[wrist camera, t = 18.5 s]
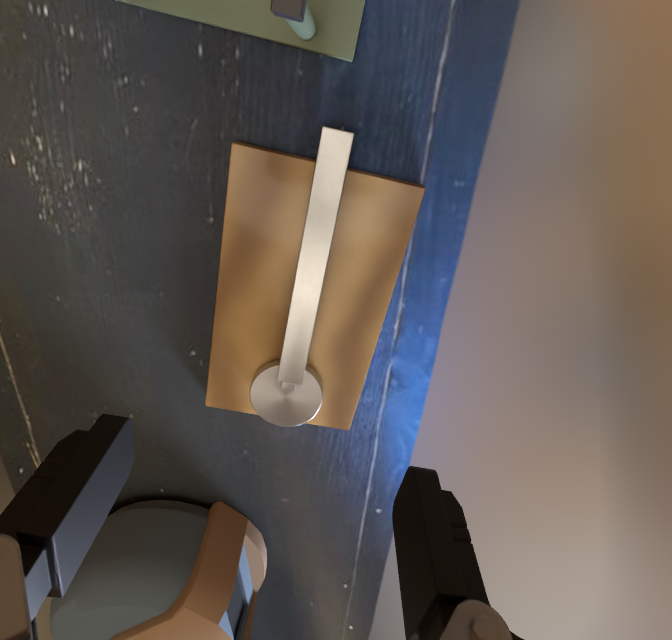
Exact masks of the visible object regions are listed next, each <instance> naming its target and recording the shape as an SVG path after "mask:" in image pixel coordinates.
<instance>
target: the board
mask: <svg viewBox="0 0 672 640" xmlns="http://www.w3.org/2000/svg"><path fill="white" fill-rule="evenodd" d="M315 163H316V160H315V159H311V158H307V157H303V156H298V155H294V154H290V153H286V152H282V151H277V150H273V149H269V148H265V147H260V146H256V145H252V144H248V143H243V142H239V141H235V142H233V143H232V146H231V156H230V166H229V176H228V185H227V195H226V205H225V215H224V225H223V235H222V245H221V255H220V265H219V275H218V285H217V295H216V304H215V314H214V324H213V334H212V344H211V354H210V364H209V374H208V384H207V394H206V404H205V405H206V406H211V407H216V408H222V409H228V410H234V411H239V412H245V413H251V414H257V413H256V411H255V410H254V408H253V407H252V404H251V401H250V388H251V384H252V381H253V378H254V376H255V374H256V372H257V371H258V370H259V369H260V368H261V367H262V366H263V365H265V364H266V363H268V362H270V361H272V360H275V359H280V357H281V351H282V346H283V340H284V335H285V329H286V324H287V318H288V313H289V307H290V302H291V296H292V291H293V285H294V279H295V274H296V268H297V263H298V257H299V252H300V246H301V241H302V235H303V230H304V224H305V219H306V213H307V207H308V202H309V196H310V191H311V185H312V180H313V174H314V169H315ZM424 192H425V187H424V186H423V185H421V184H417V183H413V182H408V181H404V180H400V179H396V178H392V177H387V176H383V175H379V174H375V173H370V172H366V171H362V170H358V169H353V168H349V167H348V168H347V173H346V178H345V182H344V187H343V192H342V197H341V202H340V206H339V211H338V216H337V221H336V226H335V230H334V235H333V240H332V245H331V250H330V254H329V259H328V264H327V269H326V273H325V278H324V283H323V288H322V293H321V297H320V302H319V307H318V312H317V317H316V321H315V326H314V331H313V336H312V341H311V345H310V350H309V355H308V360H307V364H308V365H310V366H311V367H312V368H313V369H314V370H315V371H316V372H317V374H318V375H319V377H320V379H321V382H322V386H323V399H322V404H321V407H320V409H319V411H318V412H317V414H316V415H315V416H314V417H313V418H311V419H310V420H309V421H307V422H305V423H308V424H314V425H320V426H326V427H331V428H337V429H343V430H350V427H351V423H352V420H353V417H354V414H355V411H356V407H357V404H358V401H359V398H360V395H361V392H362V388H363V385H364V382H365V379H366V376H367V373H368V369H369V366H370V363H371V360H372V357H373V354H374V350H375V347H376V344H377V341H378V338H379V334H380V331H381V328H382V325H383V322H384V319H385V315H386V312H387V309H388V306H389V303H390V300H391V296H392V293H393V290H394V287H395V284H396V281H397V277H398V274H399V271H400V268H401V265H402V261H403V258H404V255H405V252H406V249H407V246H408V242H409V239H410V236H411V233H412V230H413V227H414V223H415V220H416V217H417V214H418V211H419V208H420V204H421V201H422V198H423V195H424ZM257 415H258V414H257Z"/></svg>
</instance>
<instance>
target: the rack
mask: <svg viewBox="0 0 672 640" xmlns="http://www.w3.org/2000/svg"><path fill="white" fill-rule="evenodd" d="M115 1H119V2H123V3H126V4H130V5H134V6H138V7H142V8H146V9H149V10H153V11H157V12H161V13H165V14H169V15H172V16H176V17H180V18H184V19H188V20H191V21H195V22H199V23H203V24H207V25H211V26H214V27H218V28H222V29H226V30H230V31H234V32H237V33H241V34H245V35H249V36H253V37H256V38H260V39H264V40H268V41H272V42H276V43H279V44H283V45H287V46H291V47H295V48H299V49H302V50H306V51H310V52H314V53H318V54H322V55H325V56H329V57H333V58H337V59H341V60H344V61H348V62H352V61H353V57H354V52H355V48H356V43H357V38H358V33H359V28H360V24H361V19H362V14H363V9H364V4H365V0H115Z"/></svg>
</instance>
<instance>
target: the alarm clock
mask: <svg viewBox="0 0 672 640" xmlns="http://www.w3.org/2000/svg"><path fill="white" fill-rule="evenodd" d="M266 565H267V553H266V546H265V543H264V540H263V537H262V534H261V533H260V532H259V530H258V529H257V528H256V527H255V526H254V525H253V524H252V522H251V521H250V520H249V519H248V518H246V517H245V516H243V515H242V514H240V513H238V512H237V511H235V510H234V509H232V508H231V507H229V506H227V505H226V504H224V503H223V502H221V501H218V502H216V503H214V504H213V505H212V507H211V508H210V510H209V509H206V508H204V507H201V506H197V505H193V504H189V503H185V502H181V501H168V500H152V501H143V502H137V503H134V504H131V505H128V506H125V507H122V508H120V509H119V510H117V511H116V512H114V513H113V514H111V515H110V516H108V517H106V519H105V521H104V523H103V525H102V526H101V528H100V530H99V532H98V534H97V536H96V537H95V539H94V541H93V543H92V545H91V547H90V548H89V550H88V552H87V554H86V556H85V558H84V559H83V561H82V563H81V565H80V567H79V569H78V570H77V572H76V574H75V576H74V578H73V580H72V581H71V583H70V585H69V587H68V589H67V591H66V592H65V594H64V596H63V598H56V597H53V598H52V601H51V606H50V632H51V634H52V637H53V639H54V640H250V635H251V628H252V622H253V616H254V610H255V603H256V597H257V592H258V590H259V588H260V586H261V584H262V582H263V581H264V578H265V572H266Z"/></svg>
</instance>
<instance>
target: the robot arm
mask: <svg viewBox="0 0 672 640" xmlns="http://www.w3.org/2000/svg"><path fill="white" fill-rule="evenodd" d="M133 459H134V440H133V420H132V419H131V418H126V417H120V416H114V415H108V414H102V415H101V416H100V417H99V418H98V419H97V421H96V422H95V424H94V425H93V426H92V428H91V429H90V430H89V431H83V430H76V431H74V432H73V433H71V434H70V435H68V436H67V437H65V438H64V439H62V440H61V441H59V442H58V443H57V444H56V446H55V447H54V448H53V449H52V451H51V452H50V453H49V454H48V456H47V457H46V458H45V461H44V462H42V463H41V464H40V466H39V467H38V468H37V470H36V471H35V472H34V475H33V476H31V477H30V478H29V480H28V481H27V482H26V483H25V485H24V486H23V487H22V488H21V490H20V491H19V492H18V493H17V495H16V496H15V497H14V499H13V500H12V501H11V502H10V504H9V505H8V506H7V507H6V509H5V510H4V511H3V512H2V514H1V515H0V640H39V639H38V632H37V623H36V617H35V616H36V614H37V612H38V610H39V609H40V607H41V605H42V603H43V602H44V600H45V598H46V596H48V597H56V598H63V596H64V594H65V592H66V591H67V589H68V587H69V585H70V583H71V581H72V580H73V578H74V576H75V574H76V572H77V570H78V569H79V567H80V565H81V563H82V561H83V559H84V558H85V556H86V554H87V552H88V550H89V548H90V547H91V545H92V543H93V541H94V539H95V537H96V536H97V534H98V532H99V530H100V528H101V526H102V525H103V523H104V521H105V519H106V517H107V515H108V514H109V512H110V510H111V508H112V506H113V504H114V502H115V501H116V499H117V497H118V495H119V493H120V491H121V490H122V488H123V486H124V484H125V482H126V480H127V478H128V476H129V474H130V471H131V468H132V464H133ZM392 520H393V530H394V538H395V547H396V556H397V564H398V574H399V582H400V591H401V600H402V608H403V617H404V626H405V635H406V640H524V639H521V638H520V637H518V636H516V635H515V634H514V633H512V632H511V631H510V630H509V628H508V626H507V624H506V623H505V621H504V620H503V619H502V617H501V616H500V615H499V614H498V613H497V612H496V611H495V610H494V609H493V608H492V607H491V606H490V604H489V601H488V598H487V595H486V592H485V587H484V584H483V580H482V577H481V573H480V570H479V566H478V563H477V559H476V555H475V552H474V548H473V545H472V544H471V538H470V534H469V531H468V529H467V523H466V520H465V516H464V513H463V509H462V507H461V506H460V504H459V503H458V501H457V500H456V498H455V497H454V495H453V494H452V492H451V491H445V490H441V487H440V483H439V479H438V475H437V472H436V471H435V470H432V469H426V468H420V467H414V466H409V467H408V469H407V471H406V474H405V476H404V478H403V481H402V483H401V486H400V488H399V490H398V493H397V495H396V498H395V500H394V505H393V513H392Z"/></svg>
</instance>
